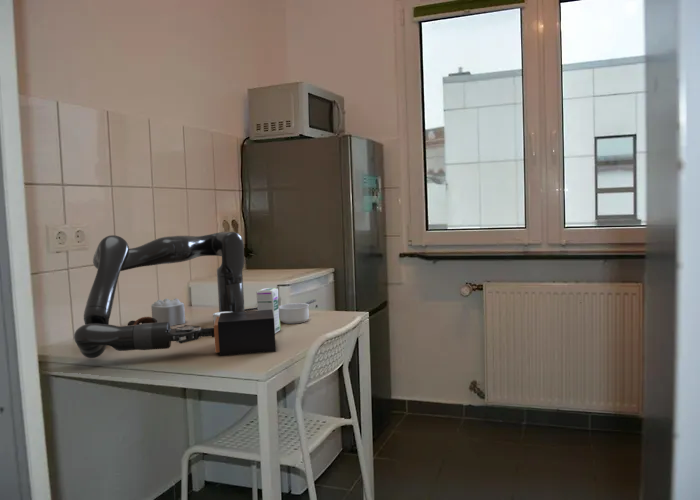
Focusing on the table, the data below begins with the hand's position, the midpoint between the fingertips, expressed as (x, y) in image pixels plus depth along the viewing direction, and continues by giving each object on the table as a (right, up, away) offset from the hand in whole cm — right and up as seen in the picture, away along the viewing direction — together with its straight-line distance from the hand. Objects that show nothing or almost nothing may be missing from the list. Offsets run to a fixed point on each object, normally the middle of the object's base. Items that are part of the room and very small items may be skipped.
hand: (214, 331), depth 161 cm
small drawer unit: (+9, -6, +5) cm, 12 cm away
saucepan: (+21, -2, +45) cm, 50 cm away
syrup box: (+12, -4, +25) cm, 28 cm away
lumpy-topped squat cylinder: (-29, -4, +47) cm, 56 cm away
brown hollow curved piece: (-29, -6, +22) cm, 37 cm away
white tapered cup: (-3, -5, +26) cm, 26 cm away
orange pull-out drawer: (+6, -5, +5) cm, 9 cm away
